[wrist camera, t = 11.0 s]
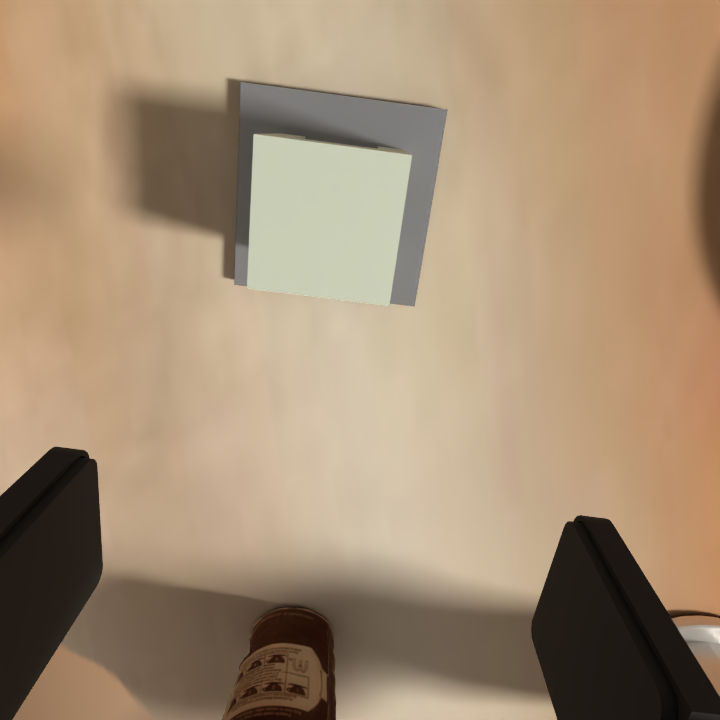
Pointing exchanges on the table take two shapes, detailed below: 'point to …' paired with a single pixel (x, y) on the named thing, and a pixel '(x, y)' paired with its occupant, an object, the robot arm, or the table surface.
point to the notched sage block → (325, 218)
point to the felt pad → (351, 127)
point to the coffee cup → (286, 670)
